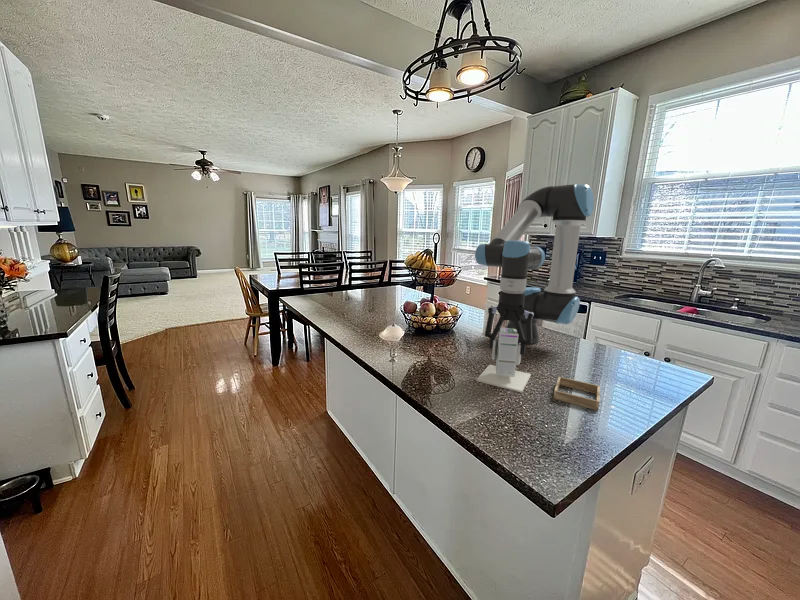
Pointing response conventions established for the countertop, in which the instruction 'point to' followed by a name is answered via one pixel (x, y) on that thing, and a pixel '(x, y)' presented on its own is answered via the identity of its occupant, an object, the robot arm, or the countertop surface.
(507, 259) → the robot arm
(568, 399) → the corral
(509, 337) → the syrup box
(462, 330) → the countertop surface
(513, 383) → the board
